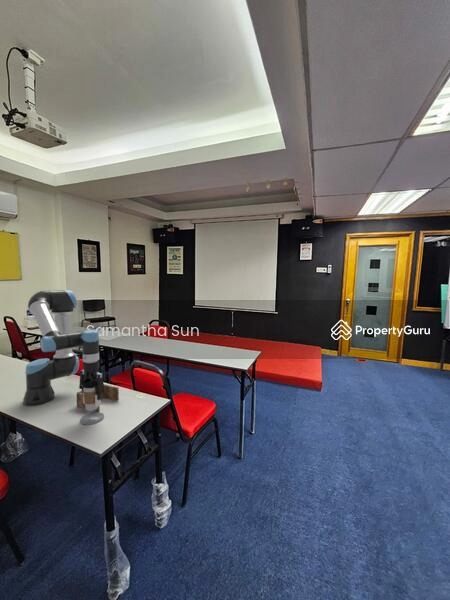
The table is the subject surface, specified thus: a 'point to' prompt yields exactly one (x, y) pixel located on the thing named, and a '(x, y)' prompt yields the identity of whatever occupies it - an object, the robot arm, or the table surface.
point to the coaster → (92, 418)
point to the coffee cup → (89, 394)
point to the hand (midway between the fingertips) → (92, 403)
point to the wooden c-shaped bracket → (109, 393)
